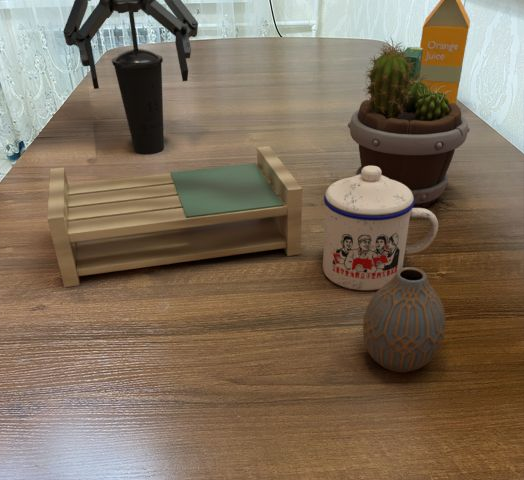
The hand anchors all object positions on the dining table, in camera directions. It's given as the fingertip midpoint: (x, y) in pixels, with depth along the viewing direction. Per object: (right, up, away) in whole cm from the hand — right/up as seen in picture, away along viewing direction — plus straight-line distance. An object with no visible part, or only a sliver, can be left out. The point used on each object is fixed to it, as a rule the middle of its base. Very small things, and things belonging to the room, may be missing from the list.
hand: (141, 80), depth 92 cm
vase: (+31, -42, -38) cm, 64 cm away
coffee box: (+42, -5, +10) cm, 44 cm away
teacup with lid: (+31, -33, -25) cm, 51 cm away
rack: (+8, -28, -19) cm, 35 cm away
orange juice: (+51, +4, +22) cm, 55 cm away
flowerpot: (+37, -20, -9) cm, 43 cm away
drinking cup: (0, -8, +7) cm, 11 cm away
